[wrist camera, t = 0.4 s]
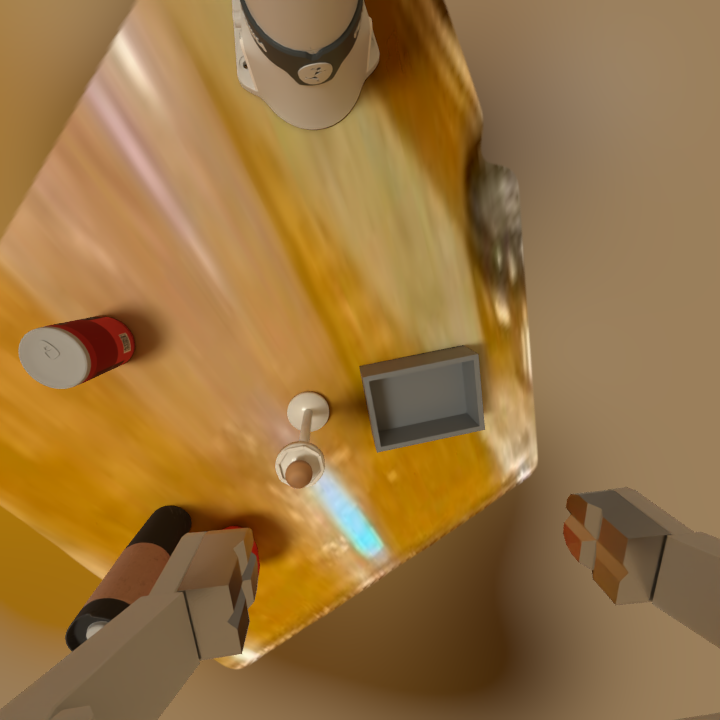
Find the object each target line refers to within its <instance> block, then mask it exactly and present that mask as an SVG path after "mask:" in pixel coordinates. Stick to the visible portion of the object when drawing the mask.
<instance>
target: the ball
mask: <svg viewBox="0 0 720 720" xmlns="http://www.w3.org/2000/svg"><path fill="white" fill-rule="evenodd" d="M312 475H313V471H312V468H311V466H310V465H309V463H307V462H306V461H303V460H296V461H294V462H292V463H291V464H290V465H289V466H288V467H287V469H286V472H285V478H286V481H287V483H288V484H289V485H290V486H291V487H293V488H298V489H299V488H303V487H305V486H307V485H308V484H309V483H310V481H311V479H312Z"/></svg>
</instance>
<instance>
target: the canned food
mask: <svg viewBox="0 0 720 720" xmlns="http://www.w3.org/2000/svg"><path fill="white" fill-rule="evenodd" d="M134 350H135V341H134V337H133V335H132V333H131V331H130V330H129V329H128V328H127V327H126V325H124V324H123V323H122V322H120V321H118V320H116V319H113V318H110V317H105V316H96V317H90V318H85V319H80V320H75V321H70V322H65V323H59V324H54V325H49V326H45V327H40V328H37V329H34V330H32V331H30V332H28V333H27V334H26V335H25V336H24V337H23V338H22V340H21V342H20V345H19V358H20V361H21V363H22V365H23V367H24V369H25V370H26V371H27V373H28V374H29V375H30V376H31V377H32V378H33V379H35V380H36V381H38V382H39V383H41V384H43V385H45V386H48V387H51V388H57V389H66V388H71V387H74V386H77V385H79V384H81V383H84V382H86V381H88V380H90V379H92V378H95V377H97V376H99V375H101V374H103V373H105V372H107V371H110V370H112V369H114V368H116V367H118V366H120V365H122V364H124V363H126V362H127V361H128V360H129V359H130V358H131V356H132V355H133V353H134Z"/></svg>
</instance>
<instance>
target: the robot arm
mask: <svg viewBox="0 0 720 720" xmlns="http://www.w3.org/2000/svg"><path fill="white" fill-rule="evenodd" d="M232 7H233V12H232V13H233V21H234V35H235V49H236V63H237V75H238V79H239V82H240V84H241V86H242V87H243V88H244V89H246V90H247V91H249V92H251V93H253V94H255V95H257V96H259V97H261V98H262V99H263V100H264V101H265V102H266V103H267V104H268V105H269V107H270V108H271V109H272V110H273V111H274V112H275V113H276V114H277V115H278V116H279V117H280V118H282V119H283V120H285V121H286V122H288V123H290V124H292V125H294V126H296V127H299V128H303V129H312V130H315V129H323V128H326V127H329V126H332V125H334V124H336V123H337V122H339V121H340V120H342V119H343V118H344V117H345V116H346V115H347V114H348V113H349V112H350V110H351V109H352V108H353V106H354V105H355V103H356V101H357V99H358V97H359V94H360V91H361V88H362V86H363V83H364V81H365V80H366V78H367V77H368V76H369V75H370V74H371V73H372V72H373V71H374V70H375V68H376V67H377V65H378V63H379V55H380V53H379V48H378V45H377V42H376V39H375V35H374V32H373V29H372V19H371V17H369V16H368V13H367V9H366V6H365V3H364V0H232ZM246 64H247V67H248V69H245V68H244V66H245V65H246ZM566 508H567V510H568V511H569V513H570V516H569V517H568V518H567V519H566V521H565V522H564V531H563V534H564V538H565V541H566V545H567V546H568V548H569V550H570V552H571V554H572V555H573V556H574V557H575V559H576V560H577V561H578V562H579V563H580V564H582V565H584V566H586V567H587V568H589V569H591V570H592V576H593V580H594V581H595V582H596V583H597V584H598V586H599V587H600V588H601V589H602V590H603V591H604V592H605V593H606V595H607V596H608V597H609V598H610V599H611V600H612V602H613V603H614V604H615V605H623V604H634V603H644V602H652V604H653V605H654V606H656V607H657V608H659V609H660V610H662V611H663V612H665V613H667V614H668V615H670V616H671V617H673V618H674V619H676V620H677V621H679V622H680V623H682V624H683V625H685V626H686V627H688V628H689V629H691V630H692V631H694V632H696V633H697V634H699V635H700V636H702V637H703V638H705V639H706V640H708V641H709V642H711V643H712V644H714V645H716V646H717V647H718V648H720V539H719V538H716V537H714V536H711V535H708V534H706V533H703V532H694V531H692V530H691V529H689V528H688V527H686V526H685V525H684V524H682V523H681V522H679V521H678V520H677V519H675V518H674V517H672V516H671V515H670V514H668V513H667V512H665V511H664V510H663V509H661V508H660V507H658V506H657V505H656V504H654V503H653V502H651V501H650V500H648V499H647V498H646V497H644V496H643V495H641V494H640V493H638V492H637V491H636V490H633V489H631V488H628V487H624V488H616V489H609V490H604V491H595V492H586V493H577V494H571V495H570V496H569V497H568V499H567V504H566ZM253 543H254V538H253V533H252V530H251V529H250V528H239V529H226V530H214V531H208V532H194V533H187V534H185V535H184V536H183V537H182V538H181V539H180V541H179V543H178V544H177V546H176V548H175V550H174V551H173V553H172V555H171V557H170V558H169V560H168V562H167V564H166V565H165V567H164V569H163V571H162V572H161V574H160V576H159V578H158V579H157V581H156V583H155V585H154V586H153V588H152V590H151V592H150V593H149V595H148V596H142V597H140V598H139V599H137V600H136V601H135V602H134V603H132V604H131V605H130V606H129V607H127V608H126V609H125V610H124V611H122V612H121V613H120V614H119V615H117V616H116V617H115V618H114V619H112V620H111V621H110V622H109V623H107V624H106V625H105V626H104V627H102V628H101V629H100V630H99V631H97V632H96V633H95V634H94V635H93V636H91V637H90V638H89V639H88V640H86V641H85V642H84V643H83V644H81V645H80V646H79V647H78V648H76V649H75V650H74V651H73V652H71V653H70V654H69V655H68V656H66V657H65V658H64V659H63V660H61V661H60V662H59V663H58V664H57V665H55V666H54V667H53V668H51V669H50V670H49V671H48V672H46V673H45V674H44V675H43V676H41V677H40V678H39V679H38V680H36V681H35V682H34V683H33V684H31V685H30V686H29V687H28V688H26V689H25V690H24V691H23V692H21V693H20V694H19V695H18V696H16V697H15V698H14V699H13V700H11V701H10V702H9V703H8V704H7V705H5V706H4V707H3V708H1V709H0V720H158V718H159V717H160V716H161V714H162V713H163V712H164V710H165V709H166V708H167V707H168V705H169V704H170V703H171V701H172V700H173V699H174V697H175V696H176V694H177V693H178V692H179V690H180V689H181V688H182V687H183V685H184V684H185V683H186V681H187V680H188V678H189V677H190V676H191V675H192V673H193V672H194V670H195V669H196V668H197V667H198V665H199V664H200V660H207V659H213V658H219V657H225V656H231V655H237V654H242V651H243V647H244V642H245V638H246V634H247V630H248V626H249V622H250V621H249V615H248V608H249V607H250V606H251V605H252V603H253V602H254V600H255V596H256V591H257V583H258V563H257V556H256V555H255V554H254V553H252V552H251V550H252V547H253ZM677 720H720V713H715V714H709V715H702V716H695V717H689V718H683V719H677Z"/></svg>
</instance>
